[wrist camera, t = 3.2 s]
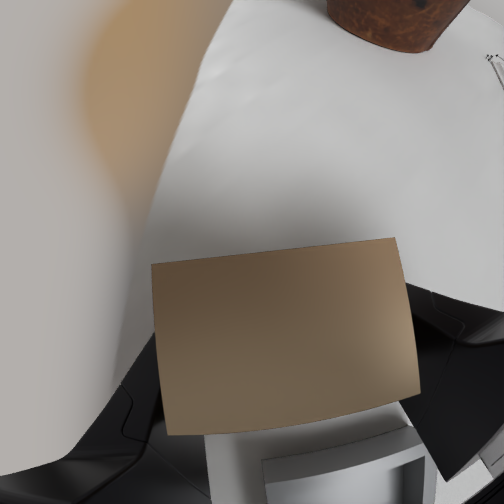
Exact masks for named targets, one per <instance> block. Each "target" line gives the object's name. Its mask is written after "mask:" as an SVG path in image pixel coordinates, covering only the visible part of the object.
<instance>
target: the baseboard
mask: <svg viewBox="0 0 504 504" xmlns="http://www.w3.org/2000/svg"><path fill="white" fill-rule="evenodd" d="M488 56H489V55H487V57H488ZM491 56H492V55H491ZM491 56H490V60H491ZM497 56H498V55H496V57H497ZM487 57H486V58H487ZM492 57H493V56H492ZM498 57H499V56H498ZM501 59H502V58H501ZM490 60H489V59H488V61H490ZM502 60H503V59H502ZM491 64H492V66H493V68H494V70H495V72H496V74H497V76H498V78H499V80H500V82H501V85H502V87H503V89H504V65H503V64H501V63H495V62H493V61H492V62H491Z"/></svg>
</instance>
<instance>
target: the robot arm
mask: <svg viewBox="0 0 504 504" xmlns="http://www.w3.org/2000/svg"><path fill="white" fill-rule="evenodd" d="M405 284H406V289H407V294H408V299H409V305H410V311H411V316H412V323H413V329H414V336H415V343H416V351H417V359H418V369H419V379H420V391H421V393H420V394H417V395H414V396H411V397H408V398H405V399H402V400H399V403H400V404H401V406H402V408H403V409H404V411H405V413H406V414H407V416H408V418H409V419H410V421H411V423H412V424H413V426H414V428H415V429H416V431H417V433H418V435H419V436H420V438H421V440H422V442H423V443H424V445H425V447H426V448H427V450H428V452H429V454H430V455H431V457H432V459H433V461H434V462H435V464H436V466H437V468H438V470H439V471H440V473H441V475H442V477H443V478H444V480H445V481H446V482H448V481H449V480H451V479H452V478H454V477H455V476H457V475H458V474H460V473H461V472H463V471H464V470H465V469H467V468H468V467H469V466H471V465H472V464H474V463H475V462H476V461H477V460H479V459H480V458H481V460H482V461H483V463H484V464H485V466H486V468H487V469H488V471H489V472H490V474H491V475H492V477H493V478H494V479H493V480H492V481H491V482H489V483H488V484H487V485H486V486H484V487H483V488H482V489H481V490H479V491H478V492H477V493H475V494H474V495H473V496H471V497H470V498H469V499H467V500H466V501H465V502H463V503H462V504H504V312H501V311H497V310H493V309H489V308H486V307H482V306H478V305H474V304H470V303H467V302H463V301H459V300H456V299H453V298H450V297H447V296H444V295H441V294H438V293H435V292H432V293H431V291H429V290H426V289H423V288H420V287H417V286H414V285H411V284H409V283H406V282H405ZM0 504H212V502H211V495H210V487H209V479H208V470H207V461H206V451H205V441H204V435H168V434H167V428H166V422H165V415H164V408H163V401H162V394H161V386H160V378H159V369H158V359H157V349H156V338H155V332H154V333H153V335H152V336H151V338H150V339H149V341H148V342H147V344H146V345H145V347H144V348H143V350H142V351H141V353H140V354H139V356H138V357H137V359H136V360H135V362H134V363H133V365H132V367H131V368H130V370H129V371H128V373H127V374H126V376H125V377H124V379H123V381H122V382H121V385H119V387H118V388H117V390H116V391H115V393H114V394H113V396H112V397H111V399H110V400H109V402H108V403H107V405H106V406H105V408H104V409H103V411H102V412H101V413H100V414H99V416H98V417H97V419H96V420H95V421H94V423H93V424H92V425H91V426H90V427H89V429H88V430H87V431H86V433H85V434H84V435H83V437H82V438H81V439H80V440H79V442H78V443H77V444H76V446H75V447H74V448H73V449H72V450H71V451H70V452H69V453H68V454H67V455H66V456H64V457H63V458H61V459H59V460H57V461H54V462H51V463H47V464H44V465H41V466H38V467H34V468H31V469H27V470H24V471H20V472H16V473H12V474H8V475H3V476H0Z"/></svg>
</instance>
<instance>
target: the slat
mask: <svg viewBox="0 0 504 504" xmlns="http://www.w3.org/2000/svg"><path fill="white" fill-rule="evenodd" d="M151 266H152V292H153V311H154V325H155V338H156V349H157V359H158V369H159V378H160V386H161V394H162V401H163V408H164V415H165V422H166V428H167V434H168V435H208V434H225V433H237V432H248V431H257V430H266V429H273V428H280V427H287V426H293V425H299V424H305V423H311V422H316V421H321V420H326V419H331V418H335V417H340V416H344V415H348V414H352V413H356V412H360V411H364V410H368V409H372V408H375V407H379V406H382V405H386V404H389V403H392V402H396V401H399V400H402V399H405V398H408V397H411V396H414V395H417V394H420V393H421V391H420V379H419V369H418V359H417V351H416V343H415V336H414V329H413V323H412V316H411V311H410V305H409V299H408V294H407V289H406V284H405V279H404V274H403V270H402V265H401V261H400V256H399V252H398V248H397V244H396V240H395V237H394V238H385V239H376V240H367V241H358V242H349V243H340V244H331V245H322V246H313V247H304V248H295V249H286V250H277V251H267V252H258V253H249V254H240V255H231V256H222V257H213V258H204V259H195V260H186V261H176V262H167V263H158V264H151Z"/></svg>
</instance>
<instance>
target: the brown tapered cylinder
mask: <svg viewBox="0 0 504 504" xmlns="http://www.w3.org/2000/svg"><path fill="white" fill-rule="evenodd" d="M469 1H470V0H327V9H328V13H329V15H330V16H331V17H332V19H333V20H334V21H335V22H337V23H338V24H339V25H340V26H341V27H343V28H344V29H346V30H347V31H349V32H351V33H353V34H355V35H357V36H359V37H361V38H363V39H365V40H367V41H369V42H372V43H374V44H377V45H380V46H383V47H386V48H389V49H393V50H397V51H402V52H409V53H419V52H423V51H428V50H430V49H431V48H432V47H433V45H434V43H435V42H436V40H437V39H438V38H439V37H440V36H441V34H442V33H443V32H444V31H445V29H446V28H447V27H448V26H449V25H450V24H451V22H452V21H453V20H454V19H455V18H456V17H457V15H458V14H459V13H460V12H461V11H462V10H463V8H464V7H465V6H466V5H467V4H468V2H469Z"/></svg>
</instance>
